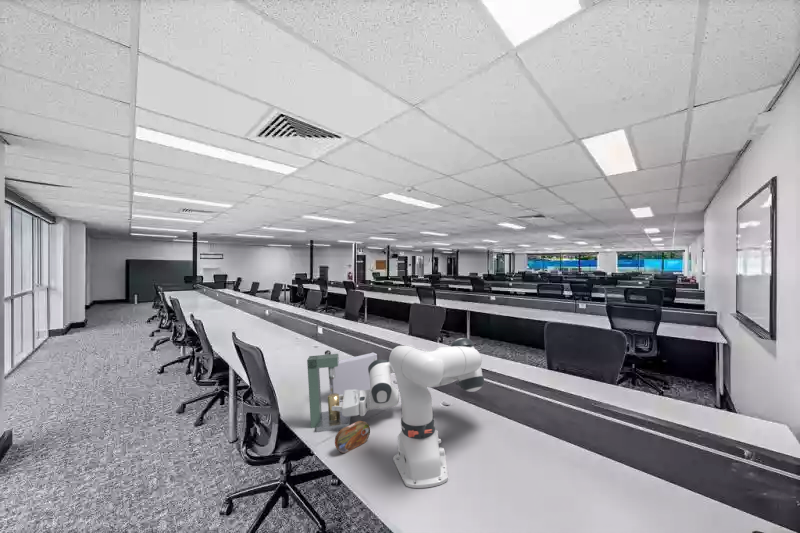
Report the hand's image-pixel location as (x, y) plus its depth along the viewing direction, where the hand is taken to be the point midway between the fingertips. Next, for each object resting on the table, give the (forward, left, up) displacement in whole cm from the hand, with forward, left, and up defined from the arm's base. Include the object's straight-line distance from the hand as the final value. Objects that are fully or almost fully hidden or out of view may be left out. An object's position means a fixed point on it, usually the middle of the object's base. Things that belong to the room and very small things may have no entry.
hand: (332, 403), depth 140 cm
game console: (+28, -9, -9) cm, 31 cm away
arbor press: (+4, +1, -9) cm, 9 cm away
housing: (0, 0, -7) cm, 7 cm away
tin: (-21, -9, -9) cm, 25 cm away
